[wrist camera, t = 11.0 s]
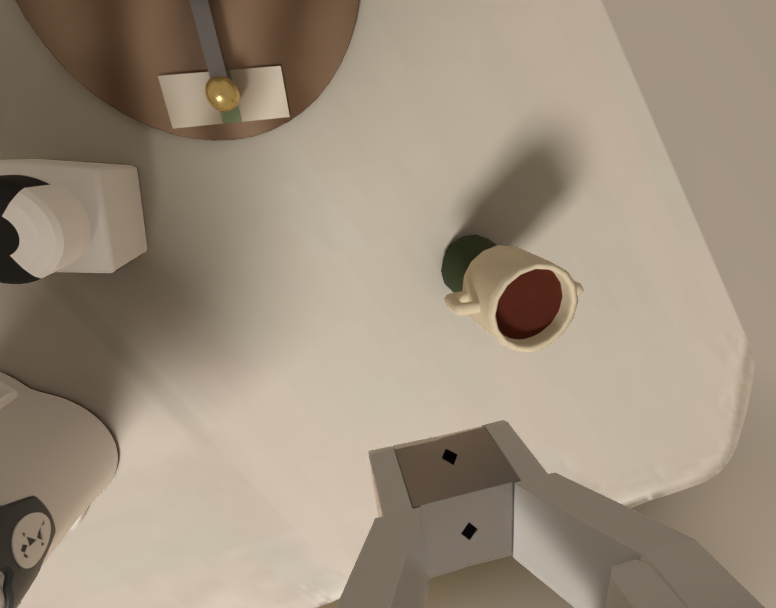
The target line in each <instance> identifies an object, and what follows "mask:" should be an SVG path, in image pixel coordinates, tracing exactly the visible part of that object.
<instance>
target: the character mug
mask: <svg viewBox="0 0 776 608" xmlns="http://www.w3.org/2000/svg"><path fill="white" fill-rule="evenodd" d="M441 272H442V276H443V280H444V283H445V284H446V285H447V286H448V287H449V288H450V289H451V290H452V291H453V292H454V293H451V294H448V295H446V297H445V299H444V300H445V303H446V304H447V306H448V307H449V308H450V309H451V310H452V311H453V312H454V313H455V314H457V315H468V314H470V316H471V317H472V318H473V319H474V320H475V321H476V322H478V323H479V324H480V326H481V327H482V328H483V329H484V330H485V331H487V332H488V333H489V334H491V335H492V336H493V337H495V338H496V339H497V340H498V341H499V342H500V343H501V344H503V345H505V346H507V347H509V348H511V349H513V350H514V351H520V352H533V351H537V350H540V349H542V348H544V347H546V346H548V345H550V344H552V343H553V342H554V341H555V340H556V339H557V338H558V337H560V336H561V335H562V334H563V333H564V332H565V330H566V329H567V327H568V325H569V324H570V322H571V321H572V319H573V317H574V314H575V310H576V307H577V303H578V296H577V295H579V294H581V293H582V292H583V290H584V289H583V287H582V285H581V284H580V283H578V282H575V281H573V279H572V278H571V276H570V275H569V273H568V272H567V271H566V270H564V269H562V268H561V267H559V266H557V265H555V264H553V263H552V262H550V261H548V260H545V259H543V258H541V257H538V256H536V255H534V254H532V253H529V252H527V251H525V250H522V249H520V248H518V247H513V246H502V245H496V244H494V243H493V242H491V241H490V240H489V239H486V238H483V237H480V236H478V235H473V236H466V237H462V238H461V239H459V240H458V241H456V242H455V243H453V244H452V245H451V246H450V248H449V250H448V251H447V253H446V254H445V256H444V258H443V264H442V270H441Z"/></svg>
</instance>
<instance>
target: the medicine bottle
mask: <svg viewBox="0 0 776 608" xmlns="http://www.w3.org/2000/svg"><path fill="white" fill-rule="evenodd" d="M146 251H147V241H146V233H145V226H144V218H143V210H142V202H141V195H140V187H139V179H138V171H137V168H136V167H135V166H132V165H121V164H107V163H92V162H78V161H63V160H49V159H5V160H0V282H1V283H8V284H22V283H29V282H33V281H36V280H39V279H41V278H43V277H45V276H48V275H50V274H52V273H54V272H70V273H113V272H115V271H116V270H118V269H120V268H121V267H123V266H124V265H126V264H127V263H129V262H131V261H132V260H134V259H135V258H137V257H139V256H140V255H142V254H143V253H145V252H146Z"/></svg>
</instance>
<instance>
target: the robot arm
mask: <svg viewBox="0 0 776 608" xmlns="http://www.w3.org/2000/svg"><path fill="white" fill-rule="evenodd" d="M369 460H370V467H371V473H372V480H373V486H374V493H375V499H376V504H377V510H378V516H379V518H375V520H374V522H373V525H372V527H371V529H370V531H369V534H368V536H367V538H366V541H365V543H364V545H363V547H362V550H361V552H360V554H359V556H358V559H357V561H356V563H355V566H354V568H353V570H352V572H351V575H350V577H349V579H348V581H347V584H346V586H345V588H344V591H343V593H342V595H341V597H340V600H339V602H338V604H337V606H336V608H424V605H425V601H426V596H427V591H428V587H429V579H430V578H433V577H436V576H439V575H442V574H446V573H448V572H452V571H455V570H458V569H461V568H464V567H467V566H471V565H475V564H479V563H483V562H487V561H491V560H495V559H499V558H503V557H507V556H511V555H513V557H514V558H515V559H516V560H517V561H519V563H521V564H522V565H523V566H524V567H526V568H527V569H528V570H529V571H530V572H532V573H533V574H534V575H535V576H537V577H538V578H539V579H540V580H541V581H543V582H544V583H545V584H546V585H548V586H549V587H550V588H551V589H552V590H554V591H555V592H556V593H557V594H559V595H560V596H561V597H562V598H563V599H565V600H566V601H567V602H568V603H570V604H571V605H572V606H573V607H574V608H765V607H764V606H763V605H761V604H760V602H759V601H758V600H757V599H755V598H754V597H753V596H752V595H751V594H750V593H749V592H748V591H747V590H746V589H745V588H744V587H743V586H742V585H741V584H740V583H739V582H738V581H737V580H736V579H735V578H734V577H733V576H732V575H731V574H730V573H729V572H728V571H727V570H726V569H725V568H724V567H723V566H722V565H721V564H720V563H719V562H718V561H716V559H715V558H714V557H713V556H712V555H710V553H709V552H708V551H707V550H706V549H704V548H703V547H702V546H701V545H700V544H699V543H698V542H697V541H696V540H695V539H693V538H691V537H689V536H687V535H685V534H683V533H681V532H679V531H677V530H674V529H672V528H670V527H668V526H666V525H664V524H662V523H660V522H658V521H656V520H653V519H651V518H649V517H647V516H645V515H643V514H641V513H639V512H636V511H634V510H633V509H630V508H628V507H626V506H624V505H622V504H620V503H618V502H616V501H614V500H612V499H609V498H607V497H605V496H603V495H601V494H599V493H597V492H595V491H593V490H591V489H589V488H586V487H584V486H582V485H580V484H578V483H576V482H574V481H572V480H570V479H568V478H565V477H563V476H561V475H559V474H557V473H552V474H548V473H547V472H546V471H545V469H544V468H543V467H542V466H541V464H540V463H539V462H538V460H537V459H536V458H535V457H534V455H533V454H532V453H531V451H530V450H529V449H528V448H527V446H526V445H525V444H524V443H523V441H522V440H521V439H520V437H519V436H518V435H517V434H516V432H515V431H514V430H513V428H512V427H511V426H510V425H509V423H508V422H506V421H504V420H502V421H498V422H494V423H490V424H486V425H482V426H481V427H476V428H471V429H467V430H463V431H459V432H455V433H450V434H446V435H442V436H438V437H433V438H428V439H423V440H418V441H413V442H408V443H403V444H399V445H394V446H393V447H392V446H391V447H386V448H381V449H376V450H372V451H369ZM117 464H118V453H117V448H116V444H115V442H114V439H113V437H112V435H111V434H110V432H109V431H108V429H107V428H106V427H105V425H104V424H103V423H102V422H101V421H100V420H99V419H98V418H97V417H95V416H94V415H93V414H92V413H90V412H89V411H87V410H86V409H84V408H83V407H81V406H79V405H77V404H75V403H73V402H71V401H69V400H66V399H63V398H60V397H57V396H54V395H50V394H46V393H42V392H39V391H36V390H33V389H30V388H28V387H27V386H25V385H24V384H22V383H20V382H19V381H17V380H16V379H14V378H12V377H10V376H8V375H6V374H4V373H1V372H0V608H17V607H18V606H19V604H20V603H21V600H22V599H23V597H24V595H25V594H26V592H27V591H28V589H29V588H30V586H31V584H32V583H33V581H34V580H35V578H36V577H37V575H38V573H39V571H40V568H41V566H42V565H43V564H44V562H45V561H46V560H47V558H48V557H49V556H50V555H51V553H52V552H53V551H54V550H55V548H56V547H57V546H58V544H59V543H60V542H61V540H62V539H63V538H64V537H65V535H66V534H67V533H68V532H69V531H72V530H74V529H75V528H76V527H77V526H78V525H79V523H80V522H81V521H82V519H83V518H84V516H85V514H86V511H87V509H88V506H89V505H90V504H91V503H92V501H93V500H94V499H95V498H96V497H97V496H98V495H99V494H100V493H101V492H102V491H103V490H104V489H105V488H106V487H107V486H108V485H109V483H110V482H111V480H112V479H113V477H114V475H115V472H116V469H117Z"/></svg>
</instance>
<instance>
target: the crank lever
mask: <svg viewBox="0 0 776 608" xmlns="http://www.w3.org/2000/svg"><path fill="white" fill-rule="evenodd" d="M189 1H190V5H191V9H192V12H193V16H194V20H195V24H196V27H197V31H198V35H199V39H200V42H201V46H202V50H203V53H204V57H205V61H206V65H207V68H208V72H209V76H210V79H209V80H208V81H207V82H206V85H205V90H204V91H205V97H206V99H207V101H208V103H209V104H210V105H211V106H212V107H213V108H214V109H216V110H218V111H221V112H230V111H232V110H234V109H235V108H236V107H237V105H238V103H239V100H240V94H239V90H238V88H237V86H236V85H235V83H234V82H233V81H232V80H231V79H229V76H228V72H227V68H226V64H225V60H224V57H223V53H222V49H221V45H220V41H219V37H218V33H217V29H216V25H215V21H214V17H213V13H212V9H211V5H210V1H209V0H189Z"/></svg>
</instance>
